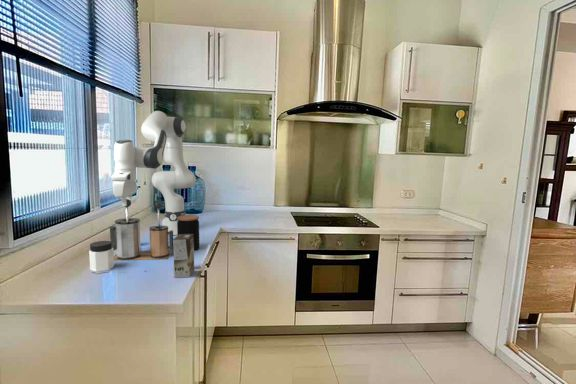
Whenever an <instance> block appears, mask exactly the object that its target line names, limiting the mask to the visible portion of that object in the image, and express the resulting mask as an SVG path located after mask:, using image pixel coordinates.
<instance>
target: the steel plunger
mask: <svg viewBox="0 0 576 384" xmlns="http://www.w3.org/2000/svg"><path fill="white" fill-rule="evenodd" d="M126 201H127V206H123V207H124V208H125V218H126V221H128V218H129V207H130V206H131V205H132V200H131V201H130V200H129V199H127V198H126Z"/></svg>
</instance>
